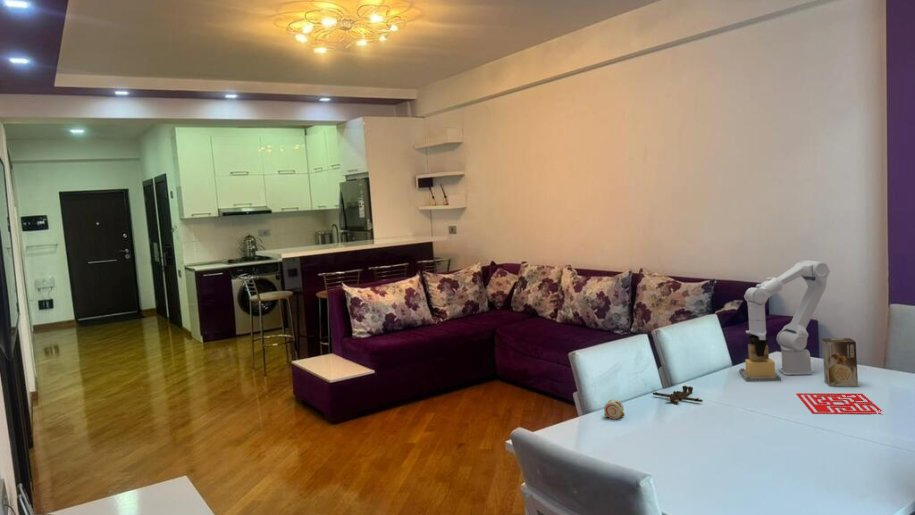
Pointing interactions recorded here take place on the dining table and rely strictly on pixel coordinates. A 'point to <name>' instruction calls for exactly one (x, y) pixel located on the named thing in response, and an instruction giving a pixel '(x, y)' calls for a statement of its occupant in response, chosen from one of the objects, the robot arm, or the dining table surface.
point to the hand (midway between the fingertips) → (758, 354)
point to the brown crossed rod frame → (679, 395)
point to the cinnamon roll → (614, 409)
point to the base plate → (759, 377)
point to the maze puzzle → (823, 409)
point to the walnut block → (754, 356)
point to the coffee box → (840, 362)
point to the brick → (760, 367)
